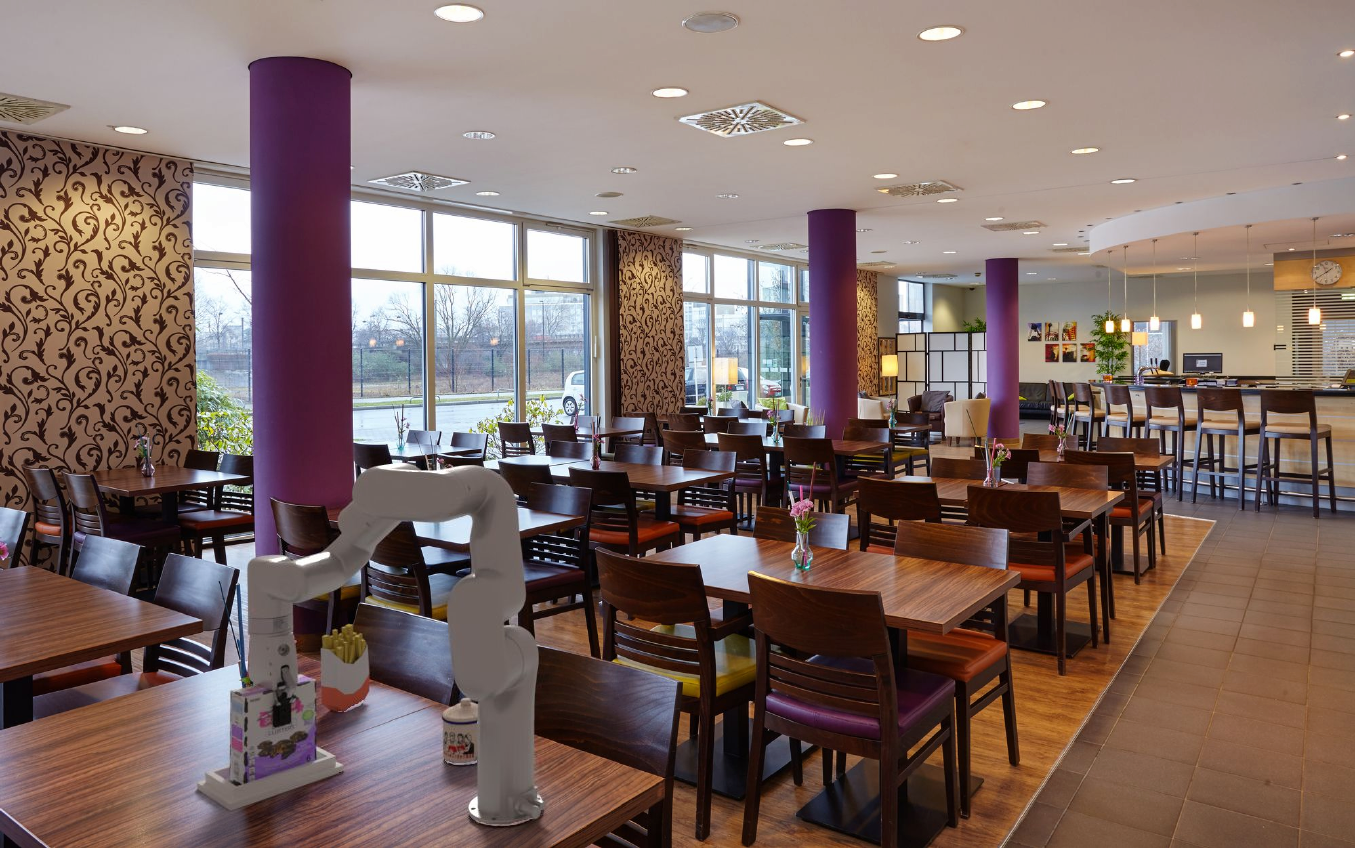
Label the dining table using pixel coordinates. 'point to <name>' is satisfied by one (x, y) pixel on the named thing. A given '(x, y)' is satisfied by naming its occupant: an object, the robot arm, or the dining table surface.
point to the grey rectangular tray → (266, 781)
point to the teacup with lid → (460, 732)
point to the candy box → (270, 732)
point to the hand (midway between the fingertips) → (272, 719)
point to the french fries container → (344, 669)
